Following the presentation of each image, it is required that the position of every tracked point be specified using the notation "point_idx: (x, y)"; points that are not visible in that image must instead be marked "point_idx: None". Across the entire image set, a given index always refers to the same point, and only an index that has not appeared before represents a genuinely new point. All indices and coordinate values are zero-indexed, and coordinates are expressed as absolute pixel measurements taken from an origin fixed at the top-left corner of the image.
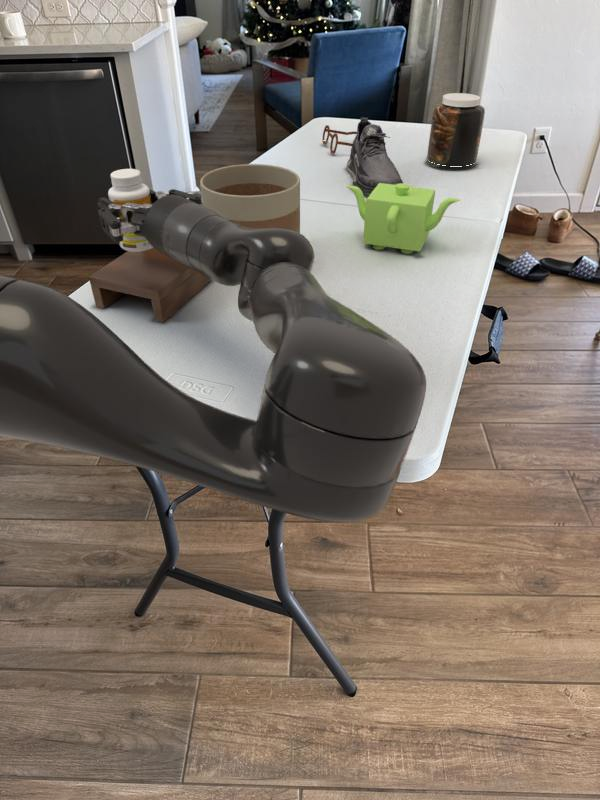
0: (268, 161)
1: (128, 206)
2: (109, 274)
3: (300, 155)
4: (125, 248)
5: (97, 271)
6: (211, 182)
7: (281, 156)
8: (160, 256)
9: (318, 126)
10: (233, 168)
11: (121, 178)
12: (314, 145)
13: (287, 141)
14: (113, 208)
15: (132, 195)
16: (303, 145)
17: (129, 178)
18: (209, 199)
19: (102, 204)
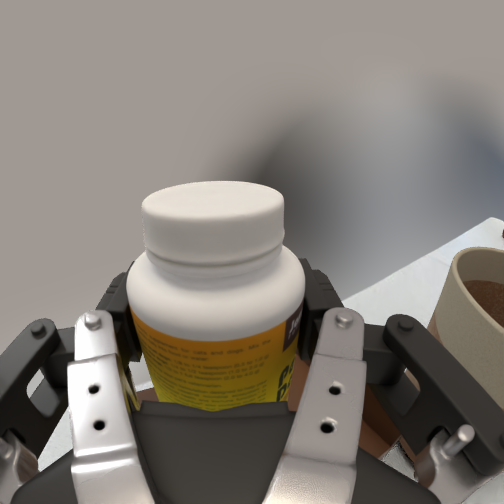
0: (466, 239)
1: (68, 396)
2: None
3: (489, 242)
4: None
5: (148, 390)
6: (459, 269)
7: (475, 237)
8: (295, 410)
9: (492, 221)
10: (494, 254)
11: (151, 214)
12: (496, 236)
13: (476, 226)
14: (76, 340)
15: (174, 316)
16: (488, 233)
17: (184, 224)
18: (469, 330)
19: (117, 287)
